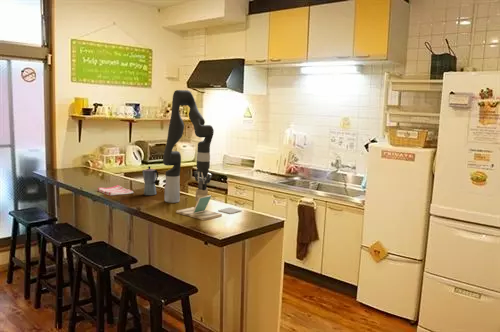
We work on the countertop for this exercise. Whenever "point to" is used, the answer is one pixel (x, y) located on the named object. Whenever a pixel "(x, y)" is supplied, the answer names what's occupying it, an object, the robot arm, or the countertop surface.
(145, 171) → the moka pot
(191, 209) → the board
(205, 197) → the tile
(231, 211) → the mat
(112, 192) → the dish towel
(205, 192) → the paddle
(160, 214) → the countertop surface
